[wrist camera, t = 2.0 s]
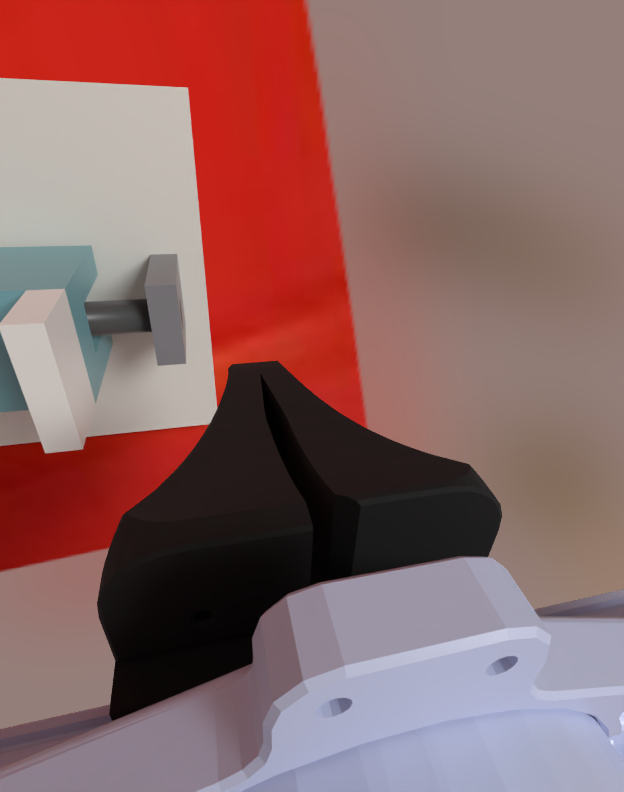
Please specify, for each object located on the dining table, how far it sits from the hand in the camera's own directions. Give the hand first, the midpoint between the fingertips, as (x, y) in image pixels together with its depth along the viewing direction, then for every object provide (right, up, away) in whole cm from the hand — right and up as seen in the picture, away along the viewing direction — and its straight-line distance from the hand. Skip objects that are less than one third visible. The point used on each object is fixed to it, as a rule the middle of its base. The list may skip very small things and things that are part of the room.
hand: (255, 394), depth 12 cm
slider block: (-9, +4, +5) cm, 11 cm away
